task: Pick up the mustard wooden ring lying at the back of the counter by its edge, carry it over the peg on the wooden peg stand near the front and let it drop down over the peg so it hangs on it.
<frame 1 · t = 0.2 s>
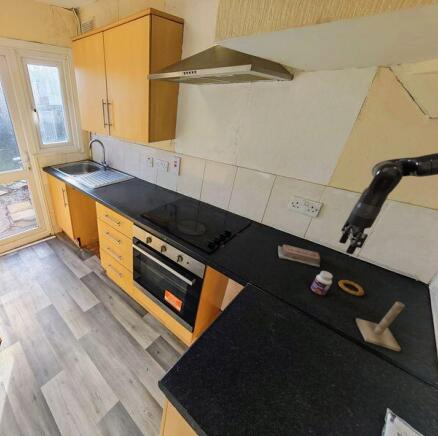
hand: (345, 247, 95), 18 cm above the table, tool pointing down, fingers open, 8 cm apart
pill bottle: (317, 291, 97), on the table
packaged product: (296, 258, 118), on the table
wooden peg stand: (375, 335, 79), on the table
ring: (350, 287, 98), point 1 cm above the table
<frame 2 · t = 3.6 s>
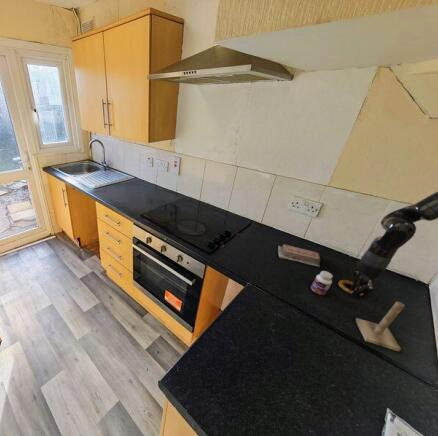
hand: (353, 294, 96), 0 cm above the table, tool pointing down, fingers closed on ring, 2 cm apart
ring: (350, 287, 98), point 1 cm above the table, touching gripper
everything else where it was.
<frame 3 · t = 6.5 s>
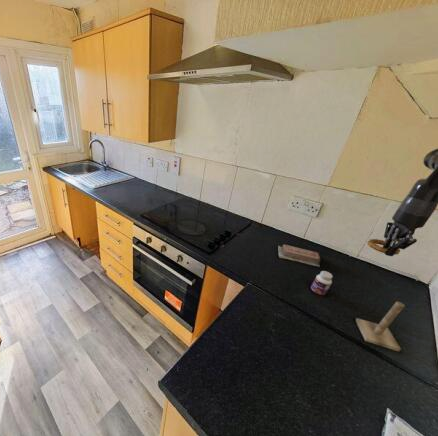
hand: (386, 253, 82), 24 cm above the table, tool pointing down, fingers closed on ring
ring: (383, 246, 85), point 25 cm above the table, touching gripper
everything else where it was.
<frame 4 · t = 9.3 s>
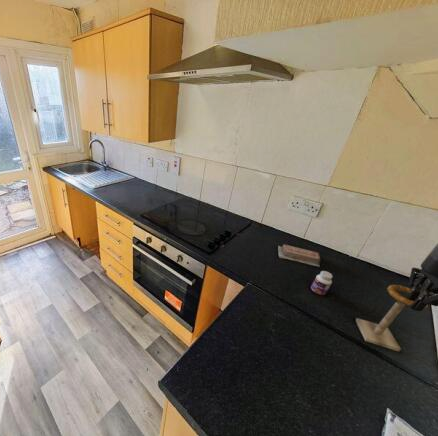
hand: (412, 305, 67), 18 cm above the table, tool pointing down, fingers closed on ring
ring: (407, 296, 70), point 19 cm above the table, touching gripper
everything else where it was.
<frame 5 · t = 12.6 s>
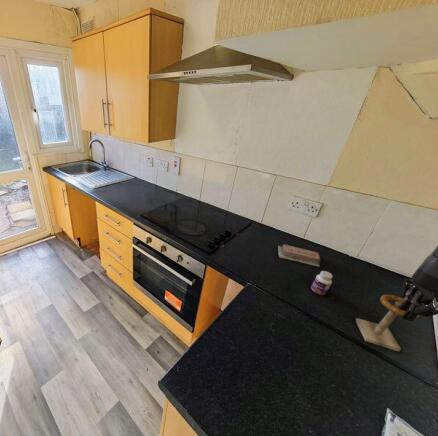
hand: (403, 315, 69), 14 cm above the table, tool pointing down, fingers closed on ring
ring: (399, 305, 72), point 15 cm above the table, touching gripper
everything else where it was.
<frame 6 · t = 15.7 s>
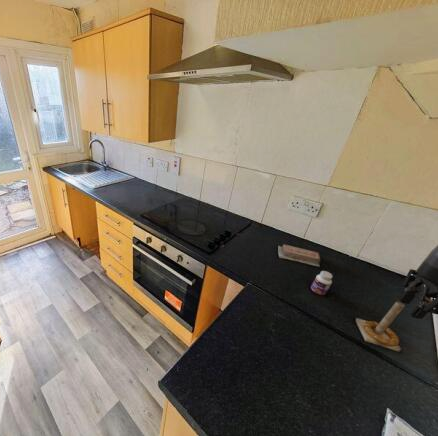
hand: (409, 309, 68), 17 cm above the table, tool pointing down, fingers open, 5 cm apart
ring: (380, 333, 77), point 2 cm above the table, touching wooden peg stand
everything else where it was.
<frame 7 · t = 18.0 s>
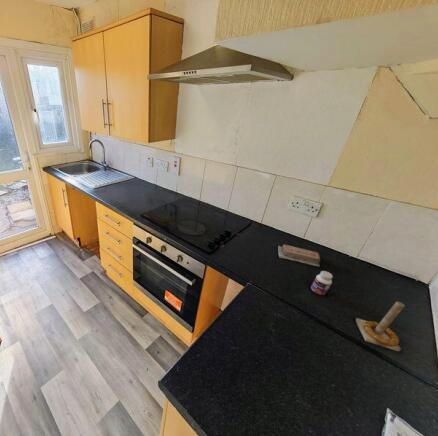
nothing on the table moved.
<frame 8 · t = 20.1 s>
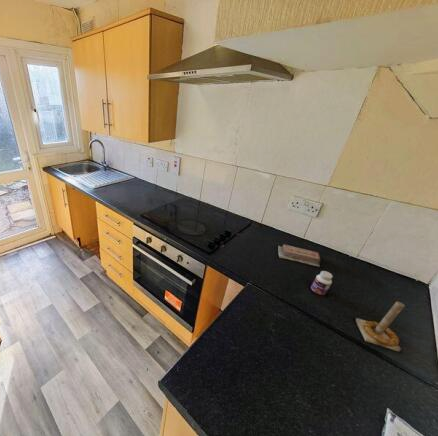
nothing on the table moved.
at the end: ring 0.9 cm from the wooden peg stand (horizontally); ring point 2.4 cm above the table; the gripper is holding nothing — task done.
